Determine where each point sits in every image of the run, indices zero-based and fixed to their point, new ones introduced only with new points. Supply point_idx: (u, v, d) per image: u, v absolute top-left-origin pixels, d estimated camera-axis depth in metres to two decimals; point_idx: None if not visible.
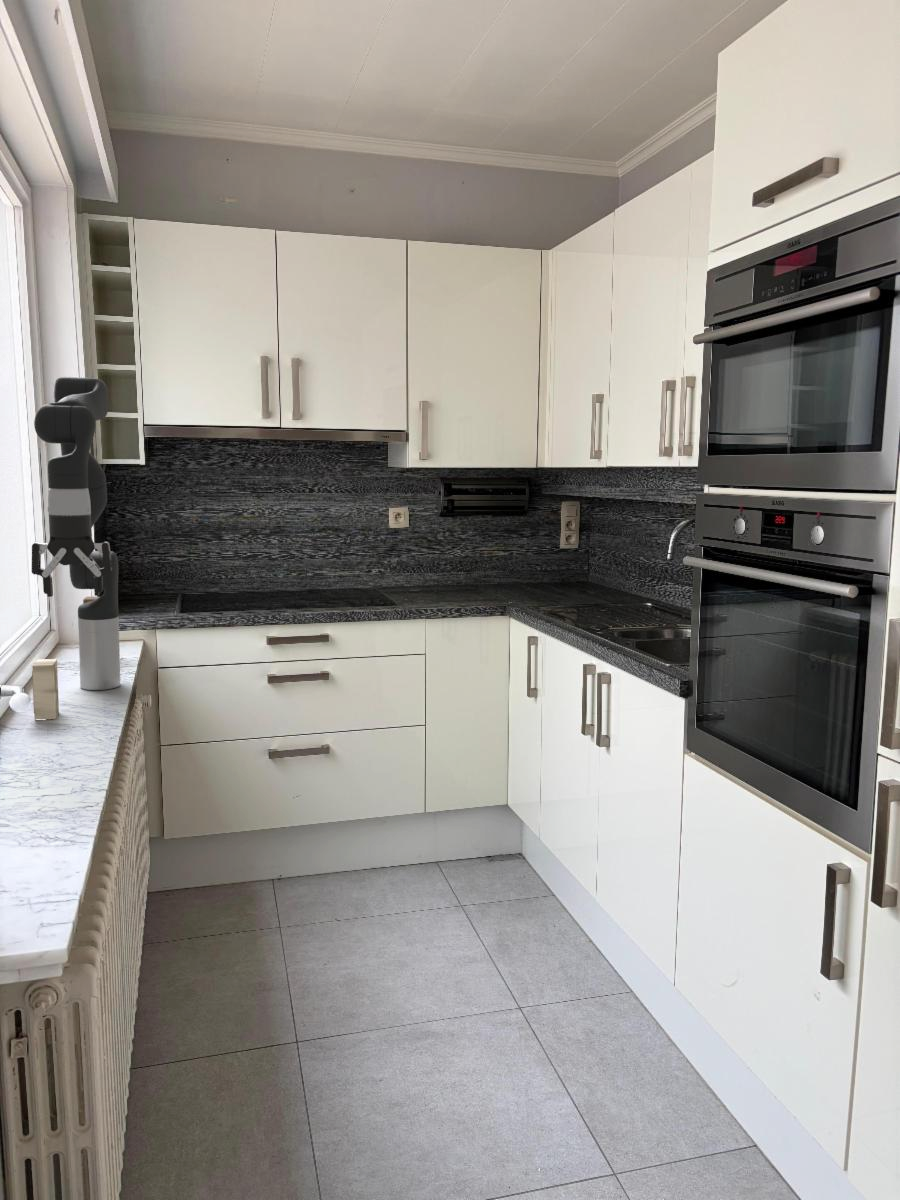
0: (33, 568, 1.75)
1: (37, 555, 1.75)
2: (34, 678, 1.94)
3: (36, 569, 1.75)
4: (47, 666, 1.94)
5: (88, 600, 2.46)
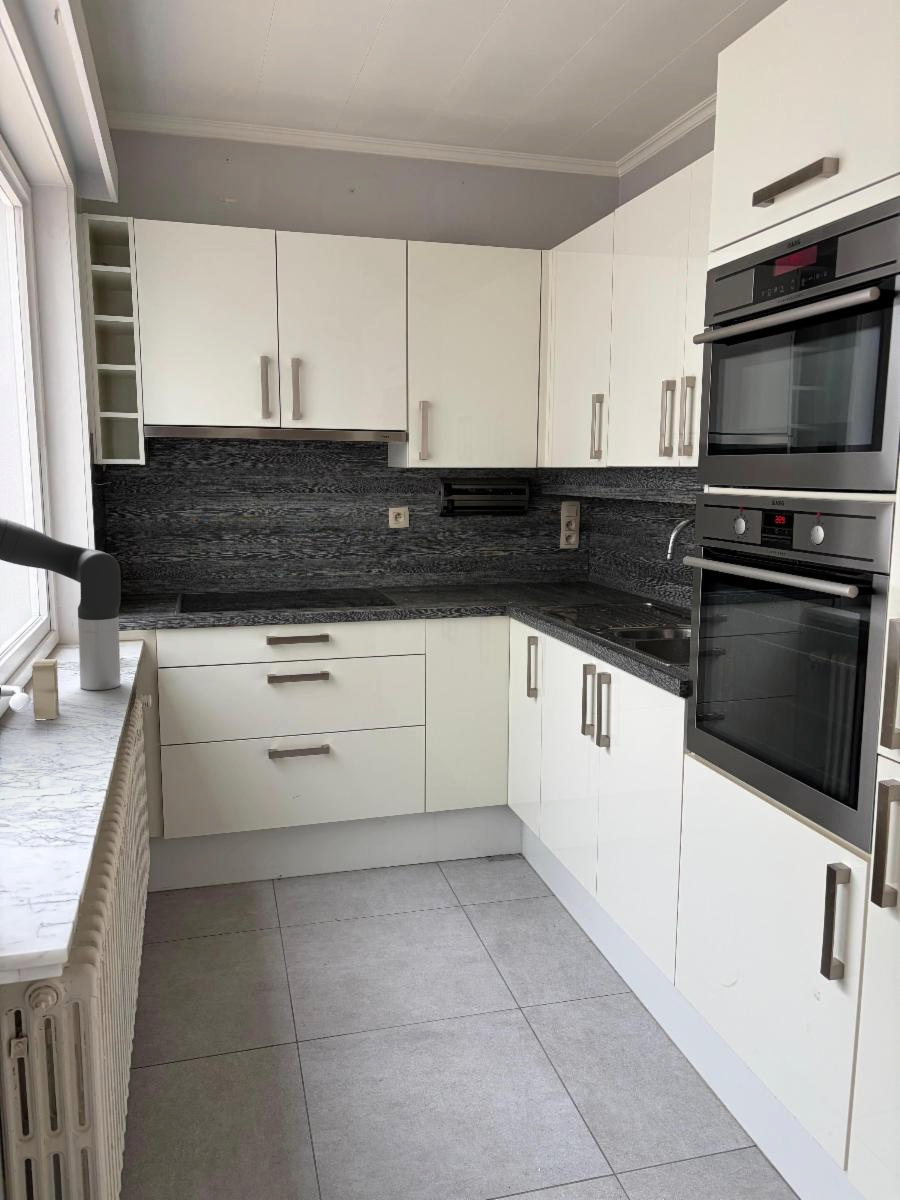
0: None
1: None
2: (34, 678, 1.94)
3: None
4: (47, 666, 1.94)
5: None
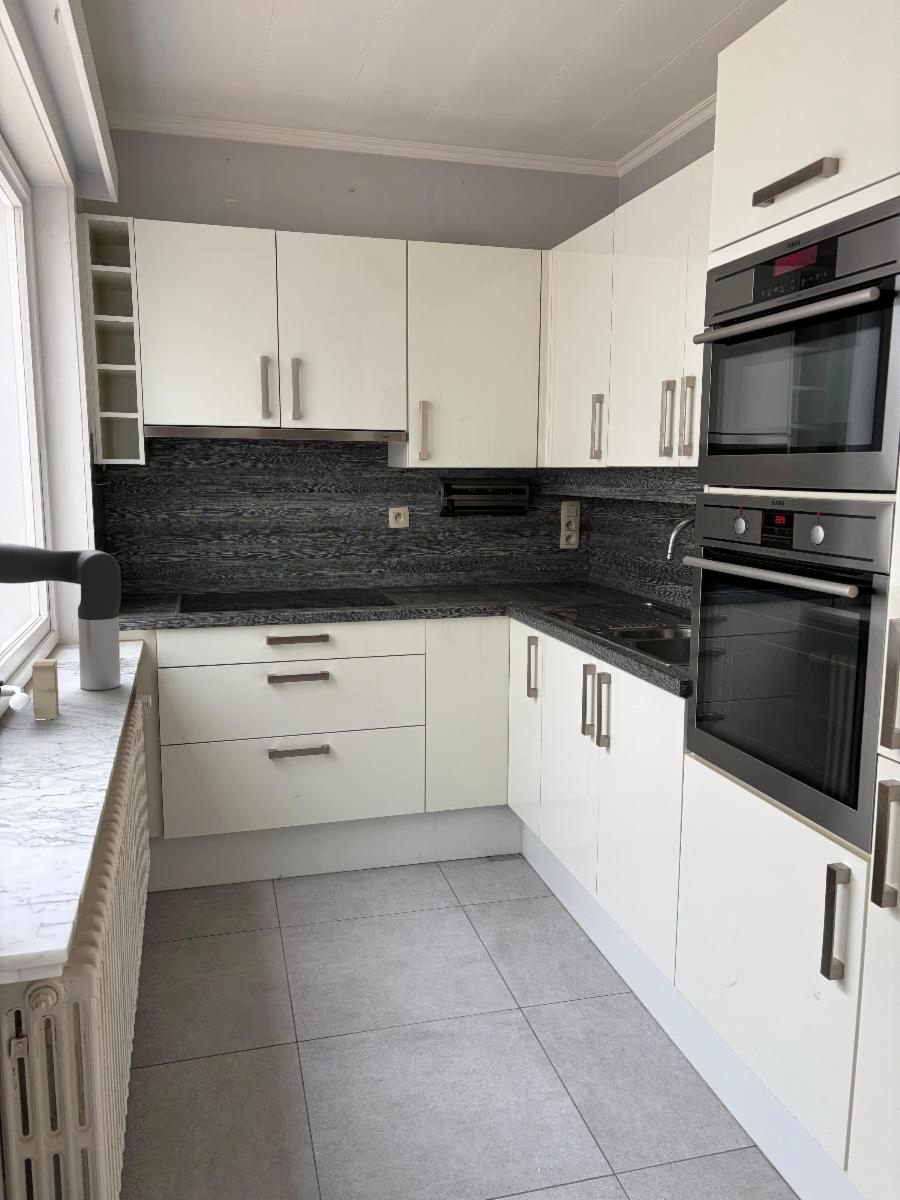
0: None
1: None
2: (34, 678, 1.94)
3: None
4: (47, 666, 1.94)
5: None
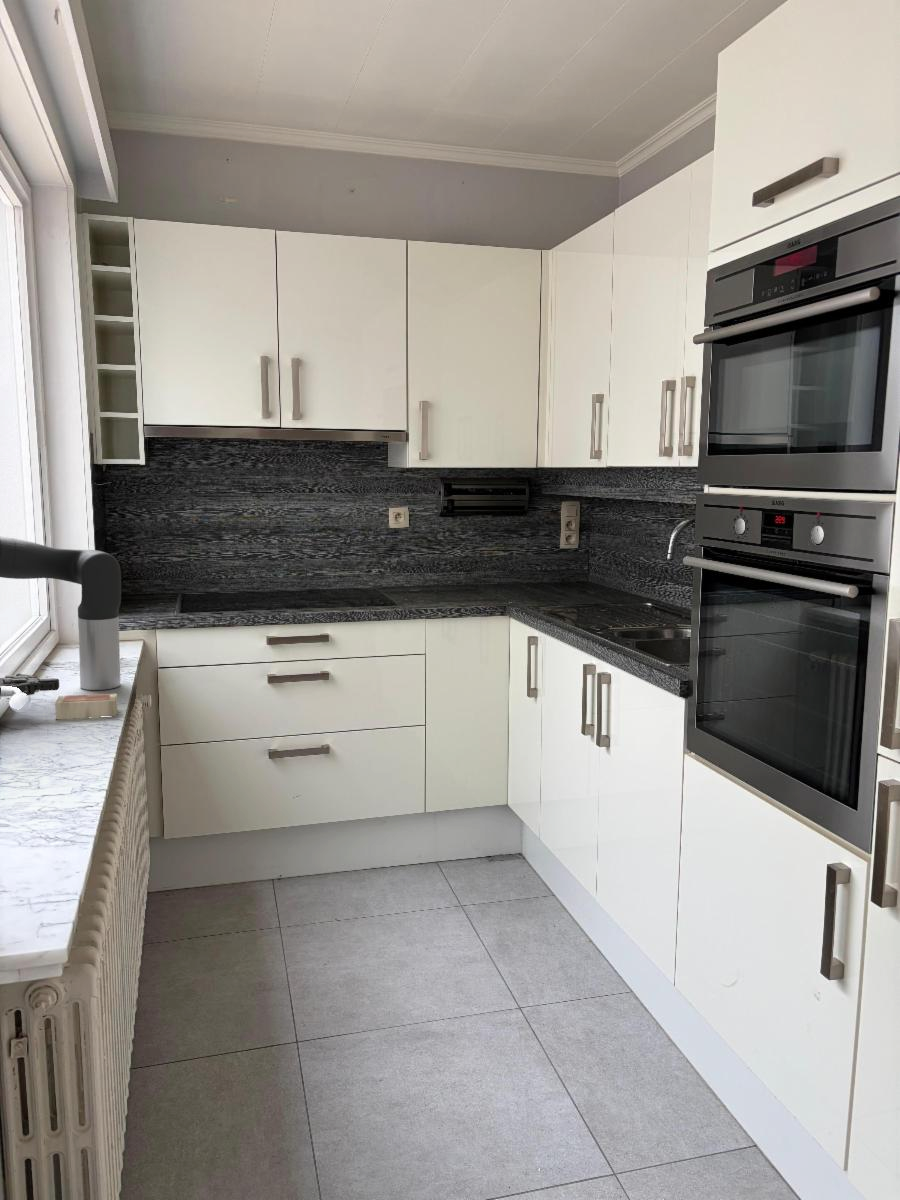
0: None
1: None
2: (101, 702, 1.98)
3: None
4: (113, 713, 1.99)
5: None
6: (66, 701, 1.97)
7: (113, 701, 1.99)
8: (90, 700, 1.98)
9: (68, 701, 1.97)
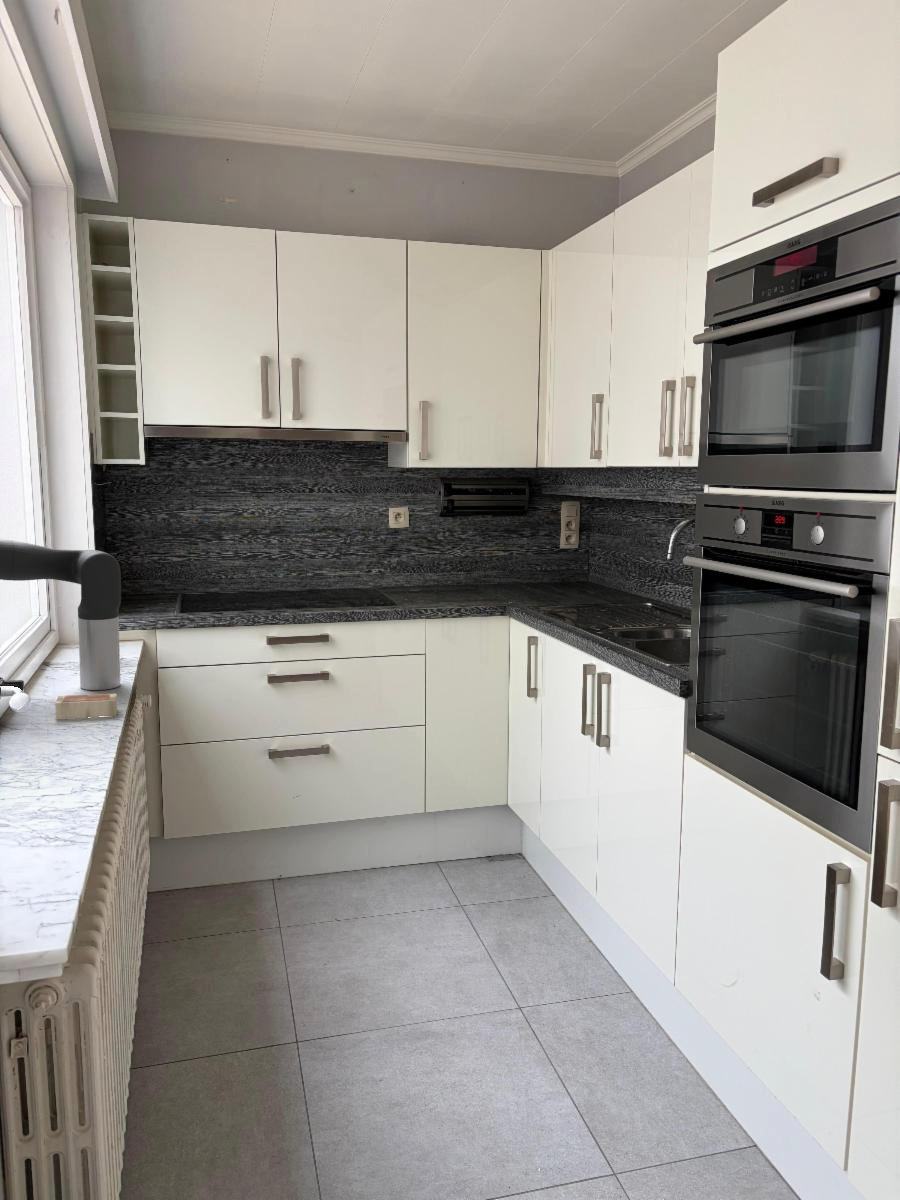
0: None
1: None
2: (101, 702, 1.98)
3: None
4: (114, 713, 2.00)
5: None
6: (66, 701, 1.97)
7: (113, 701, 1.99)
8: (90, 700, 1.98)
9: (68, 701, 1.97)
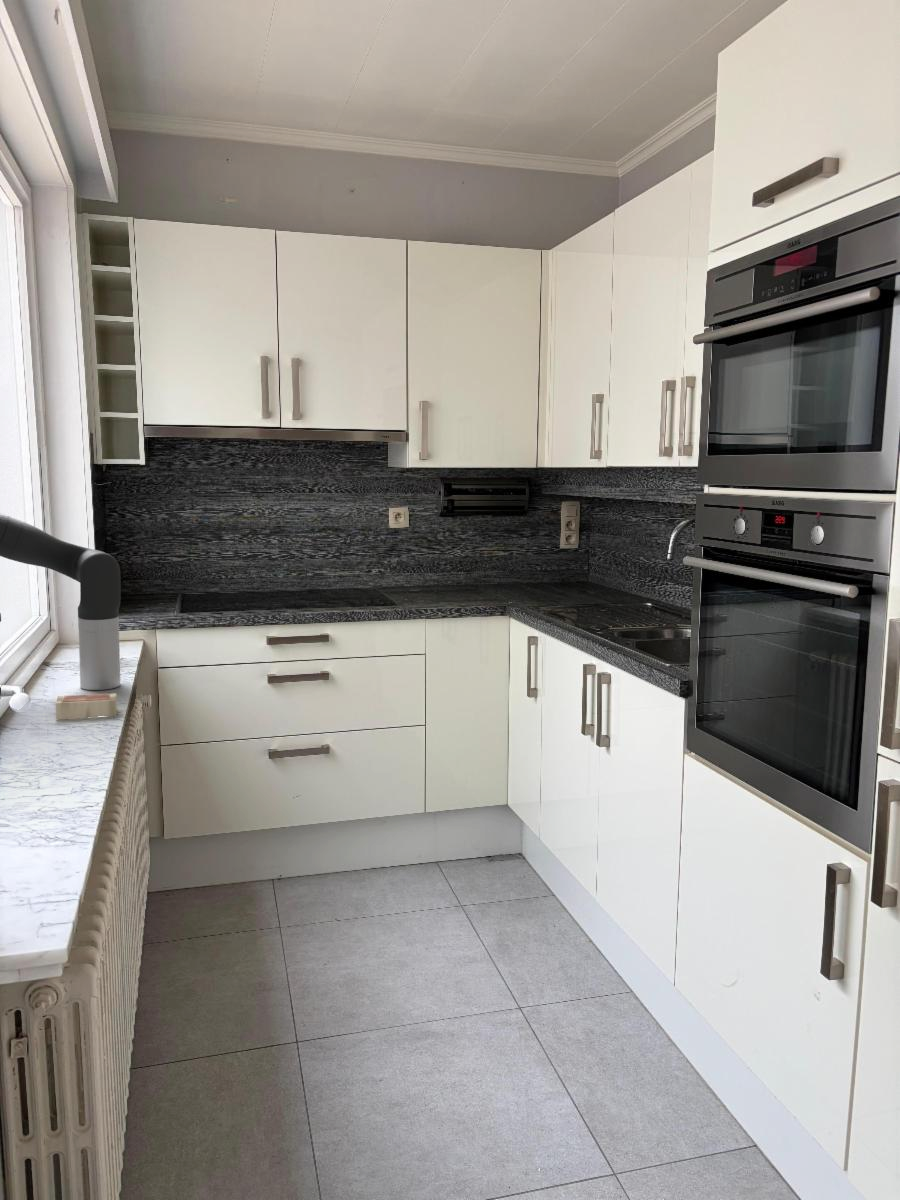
0: None
1: None
2: (101, 702, 1.98)
3: None
4: (114, 713, 2.00)
5: None
6: (66, 701, 1.97)
7: (113, 701, 1.99)
8: (90, 700, 1.98)
9: (68, 701, 1.97)
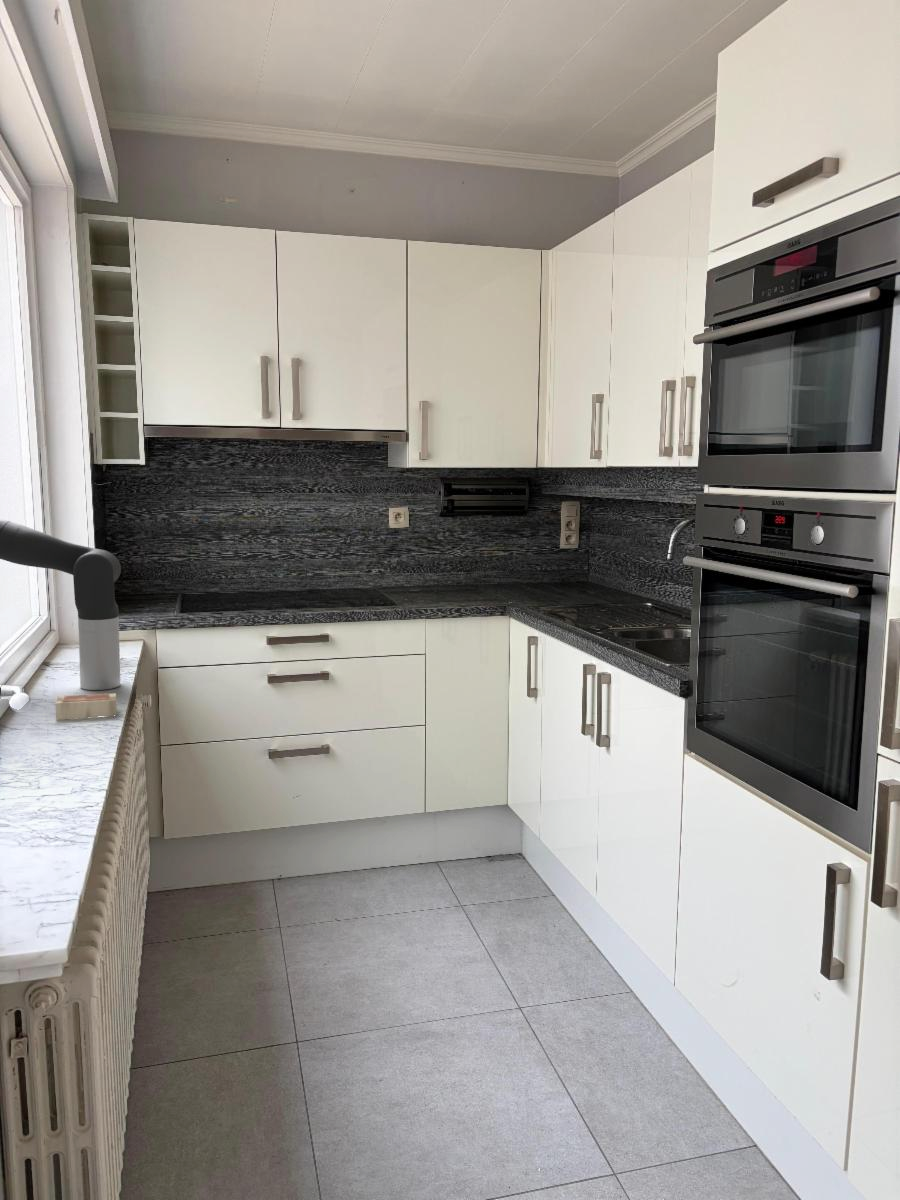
0: None
1: None
2: (101, 702, 1.99)
3: None
4: (114, 713, 2.00)
5: None
6: (66, 701, 1.97)
7: (114, 701, 1.99)
8: (90, 700, 1.98)
9: (68, 701, 1.97)
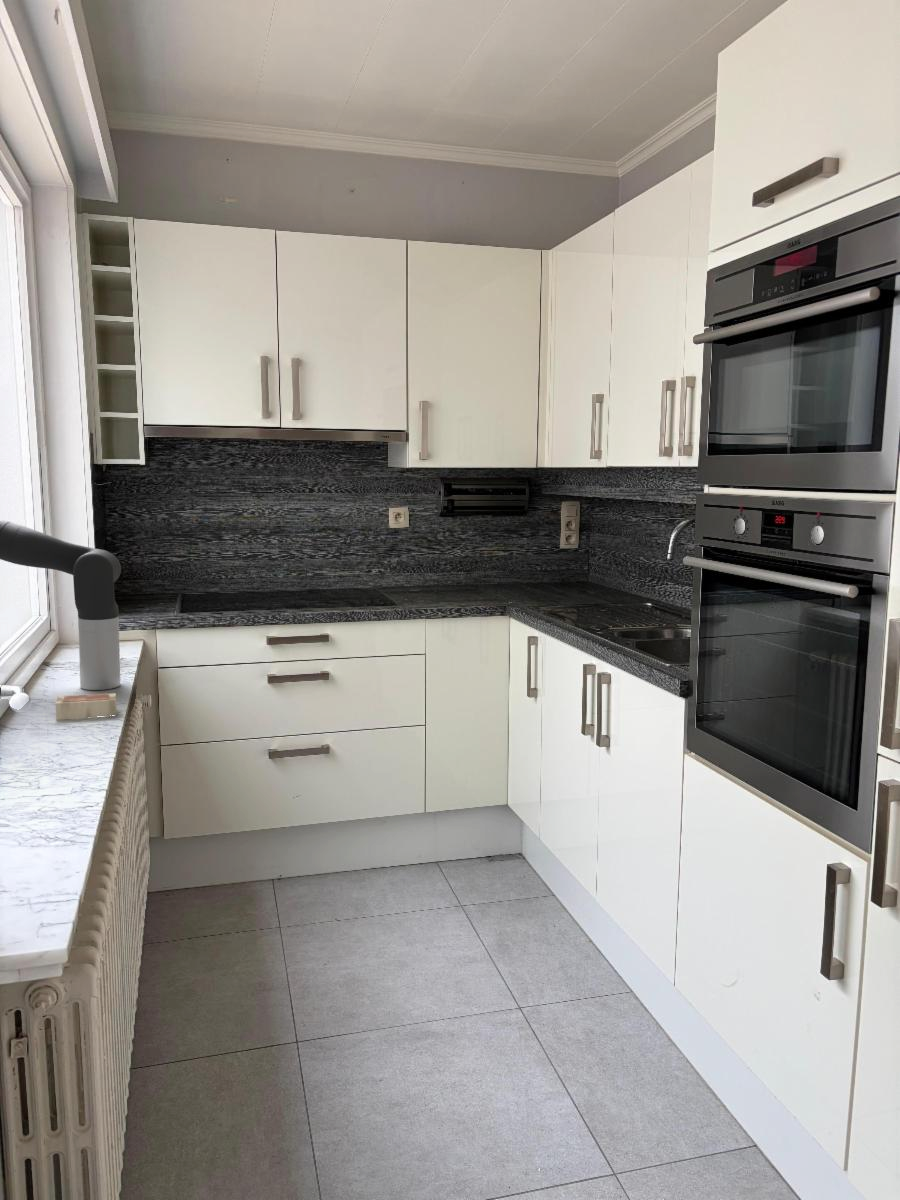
0: None
1: None
2: (102, 702, 1.99)
3: None
4: (114, 713, 2.00)
5: None
6: (66, 701, 1.97)
7: (114, 700, 1.99)
8: (91, 700, 1.98)
9: (68, 701, 1.97)
